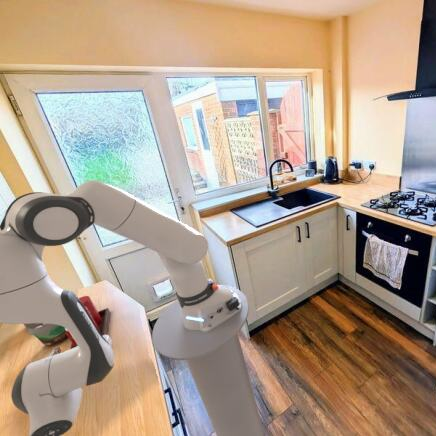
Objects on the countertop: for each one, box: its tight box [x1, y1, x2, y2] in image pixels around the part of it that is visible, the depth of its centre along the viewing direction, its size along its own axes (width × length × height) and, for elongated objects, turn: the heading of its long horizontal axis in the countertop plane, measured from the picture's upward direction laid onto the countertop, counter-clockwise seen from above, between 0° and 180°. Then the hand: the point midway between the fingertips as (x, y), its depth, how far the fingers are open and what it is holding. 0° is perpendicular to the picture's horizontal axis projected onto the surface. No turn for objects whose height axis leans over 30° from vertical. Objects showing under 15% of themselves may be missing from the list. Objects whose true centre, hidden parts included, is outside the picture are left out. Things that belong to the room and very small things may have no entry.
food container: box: [27, 323, 69, 347], centre depth 93 cm, size 12×6×10 cm, turn 161°
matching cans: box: [78, 295, 102, 332], centre depth 94 cm, size 5×12×12 cm, turn 31°
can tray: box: [69, 307, 111, 350], centre depth 93 cm, size 10×23×3 cm, turn 31°
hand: (75, 342), depth 80 cm, fingers open, 8 cm apart
